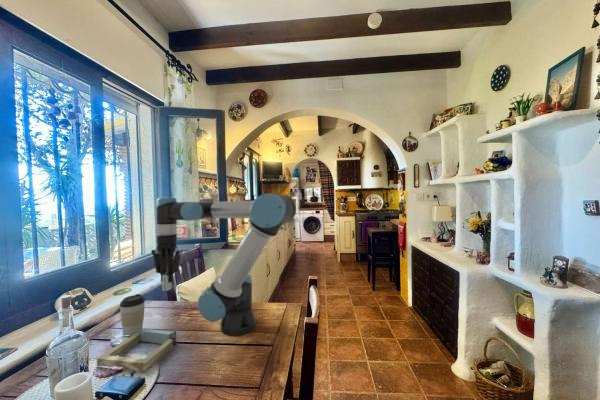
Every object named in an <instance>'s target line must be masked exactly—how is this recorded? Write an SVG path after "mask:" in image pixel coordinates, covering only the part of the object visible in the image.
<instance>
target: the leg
mask: <svg viewBox="0 0 600 400" xmlns="http://www.w3.org/2000/svg"><path fill="white" fill-rule="evenodd" d="M168 339H171V340H172V331H168V330H160V329H151V328H142V331H141V341H140V342H144V343H145V342H146V343H153V344H159V345H162V344H163V343H164V342H166V341H167V340H168Z"/></svg>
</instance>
